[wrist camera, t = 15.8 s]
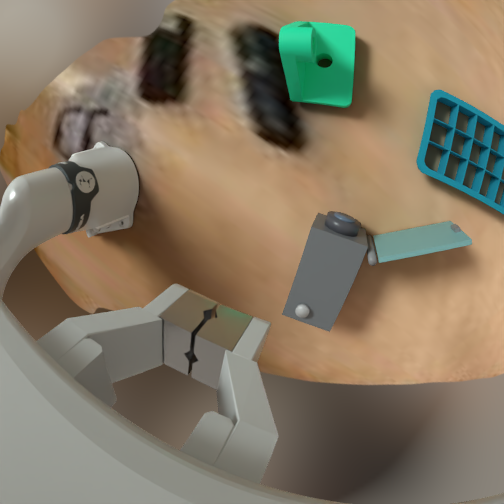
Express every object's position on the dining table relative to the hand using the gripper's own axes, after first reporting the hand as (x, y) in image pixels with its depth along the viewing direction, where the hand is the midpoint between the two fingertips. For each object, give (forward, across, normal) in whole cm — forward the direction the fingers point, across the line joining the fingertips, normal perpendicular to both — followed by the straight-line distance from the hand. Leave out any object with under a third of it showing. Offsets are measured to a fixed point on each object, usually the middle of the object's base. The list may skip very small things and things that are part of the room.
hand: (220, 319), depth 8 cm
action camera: (+31, -4, +10) cm, 33 cm away
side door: (+31, -14, +2) cm, 34 cm away
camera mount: (+32, +3, -16) cm, 36 cm away
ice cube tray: (+32, -21, -12) cm, 40 cm away
